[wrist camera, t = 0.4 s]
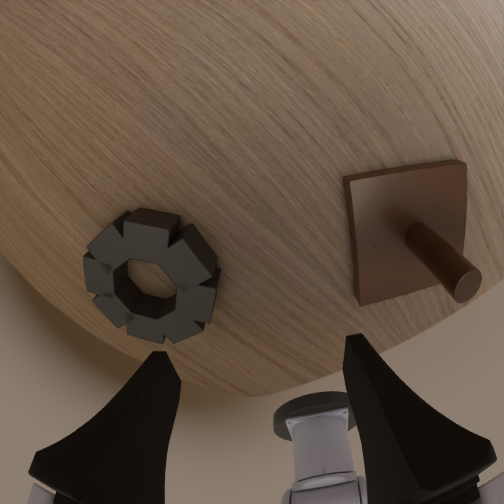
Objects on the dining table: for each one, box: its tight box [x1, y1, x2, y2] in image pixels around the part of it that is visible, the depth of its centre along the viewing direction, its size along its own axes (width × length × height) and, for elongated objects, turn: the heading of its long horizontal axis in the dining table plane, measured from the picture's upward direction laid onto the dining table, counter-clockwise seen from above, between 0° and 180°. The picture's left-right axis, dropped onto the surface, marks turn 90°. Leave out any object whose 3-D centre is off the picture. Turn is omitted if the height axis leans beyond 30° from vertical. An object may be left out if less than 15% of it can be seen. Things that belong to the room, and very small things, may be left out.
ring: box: [83, 208, 221, 344], centre depth 18 cm, size 9×9×2 cm
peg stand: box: [343, 160, 482, 306], centre depth 14 cm, size 9×9×7 cm
